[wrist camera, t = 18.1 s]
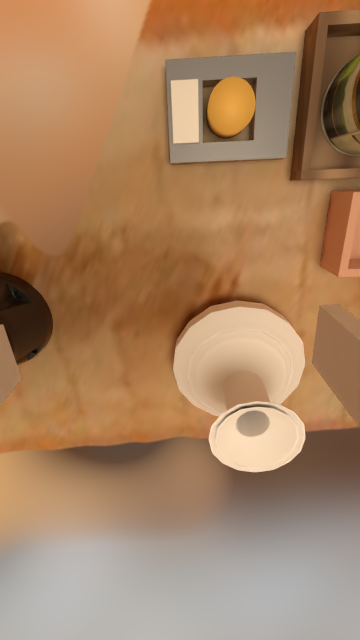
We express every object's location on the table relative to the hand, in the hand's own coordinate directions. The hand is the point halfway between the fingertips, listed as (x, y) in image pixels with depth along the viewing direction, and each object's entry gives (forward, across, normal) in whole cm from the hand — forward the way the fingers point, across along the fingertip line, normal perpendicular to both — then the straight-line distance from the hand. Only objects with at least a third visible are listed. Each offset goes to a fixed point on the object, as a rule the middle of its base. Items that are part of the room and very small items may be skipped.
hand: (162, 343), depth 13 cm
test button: (+31, +7, +13) cm, 35 cm away
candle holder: (+33, +8, -20) cm, 39 cm away
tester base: (+33, +7, +13) cm, 36 cm away
